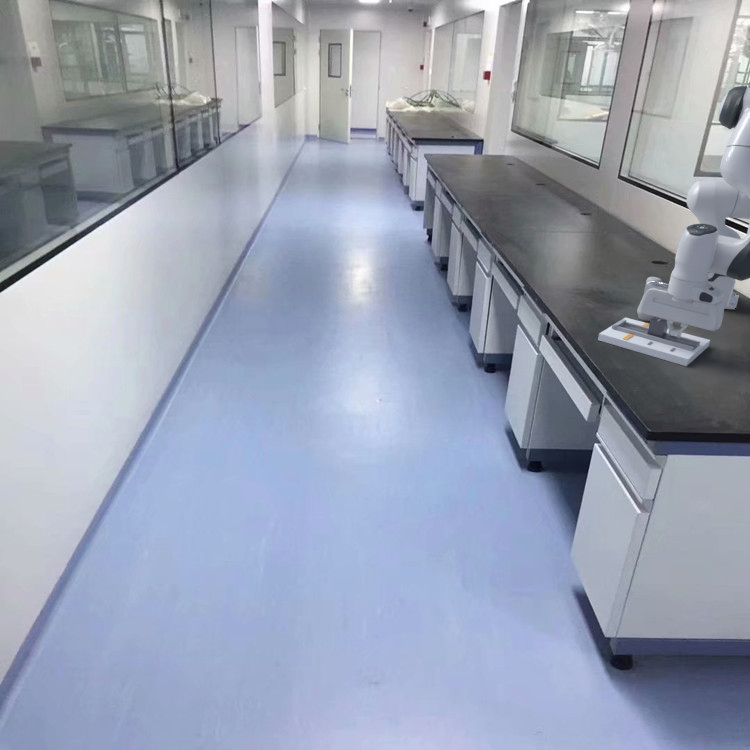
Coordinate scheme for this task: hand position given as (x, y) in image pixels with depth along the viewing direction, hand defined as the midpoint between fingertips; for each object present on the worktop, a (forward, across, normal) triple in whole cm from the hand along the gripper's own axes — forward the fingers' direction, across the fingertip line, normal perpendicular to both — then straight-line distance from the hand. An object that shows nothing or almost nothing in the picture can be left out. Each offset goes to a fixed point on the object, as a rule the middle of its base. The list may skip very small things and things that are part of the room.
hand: (674, 336), depth 169 cm
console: (+4, -5, 0) cm, 6 cm away
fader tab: (+1, -4, 0) cm, 5 cm away
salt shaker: (+4, -14, +18) cm, 23 cm away
